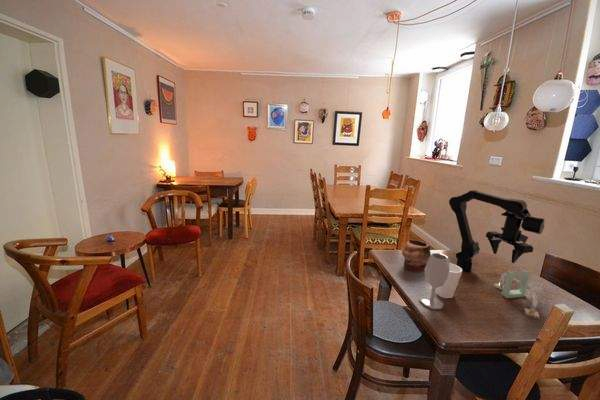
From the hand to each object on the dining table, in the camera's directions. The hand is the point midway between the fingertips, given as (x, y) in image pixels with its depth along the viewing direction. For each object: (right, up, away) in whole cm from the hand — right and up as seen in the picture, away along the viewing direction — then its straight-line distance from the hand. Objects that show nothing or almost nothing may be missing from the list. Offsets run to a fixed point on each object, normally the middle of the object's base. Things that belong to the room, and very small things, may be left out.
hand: (503, 258), depth 124 cm
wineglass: (-42, -15, -16) cm, 48 cm away
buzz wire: (-4, -15, -11) cm, 19 cm away
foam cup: (-33, -14, -9) cm, 37 cm away
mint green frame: (-2, -15, -7) cm, 17 cm away
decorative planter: (-35, -8, +15) cm, 39 cm away
